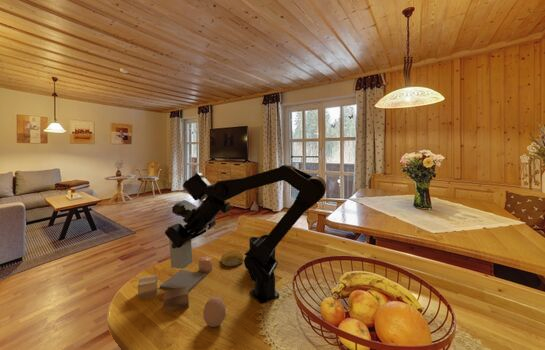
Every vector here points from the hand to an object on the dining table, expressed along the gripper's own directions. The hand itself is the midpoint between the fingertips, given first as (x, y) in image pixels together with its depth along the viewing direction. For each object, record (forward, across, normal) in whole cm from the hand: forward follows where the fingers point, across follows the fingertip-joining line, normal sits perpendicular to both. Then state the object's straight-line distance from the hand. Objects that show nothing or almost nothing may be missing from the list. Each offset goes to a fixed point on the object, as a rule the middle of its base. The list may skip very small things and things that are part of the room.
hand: (177, 244), depth 74 cm
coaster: (+8, 0, +10) cm, 12 cm away
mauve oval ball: (-5, +15, +23) cm, 28 cm away
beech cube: (+12, +8, +5) cm, 15 cm away
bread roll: (+2, -17, +16) cm, 24 cm away
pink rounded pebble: (+6, -8, +12) cm, 15 cm away
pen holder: (-7, -16, +25) cm, 31 cm away
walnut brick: (+4, +11, +14) cm, 18 cm away
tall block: (+4, 0, +5) cm, 7 cm away
